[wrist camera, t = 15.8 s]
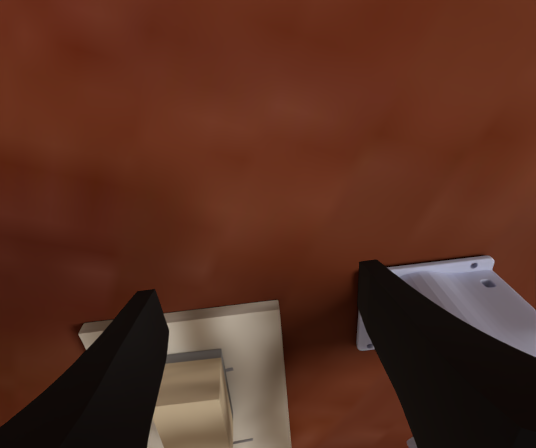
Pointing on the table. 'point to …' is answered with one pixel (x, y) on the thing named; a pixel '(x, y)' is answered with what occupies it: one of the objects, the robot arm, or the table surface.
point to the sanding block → (194, 402)
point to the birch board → (234, 365)
